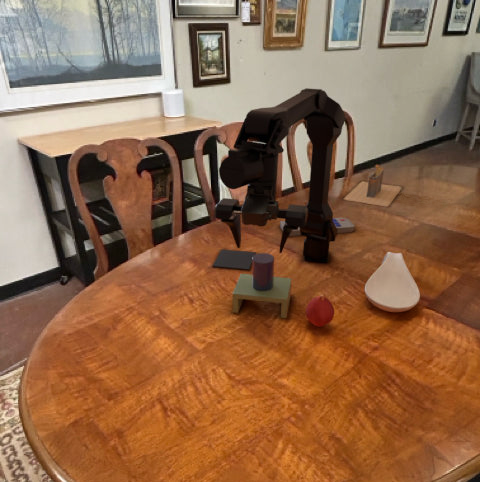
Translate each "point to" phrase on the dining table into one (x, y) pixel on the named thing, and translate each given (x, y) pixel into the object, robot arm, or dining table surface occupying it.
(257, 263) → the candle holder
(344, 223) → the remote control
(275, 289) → the shelf
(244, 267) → the mat
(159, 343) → the dining table surface
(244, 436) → the dining table surface
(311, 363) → the dining table surface
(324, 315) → the onion
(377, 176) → the architectural model on board
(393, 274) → the spoon rest
